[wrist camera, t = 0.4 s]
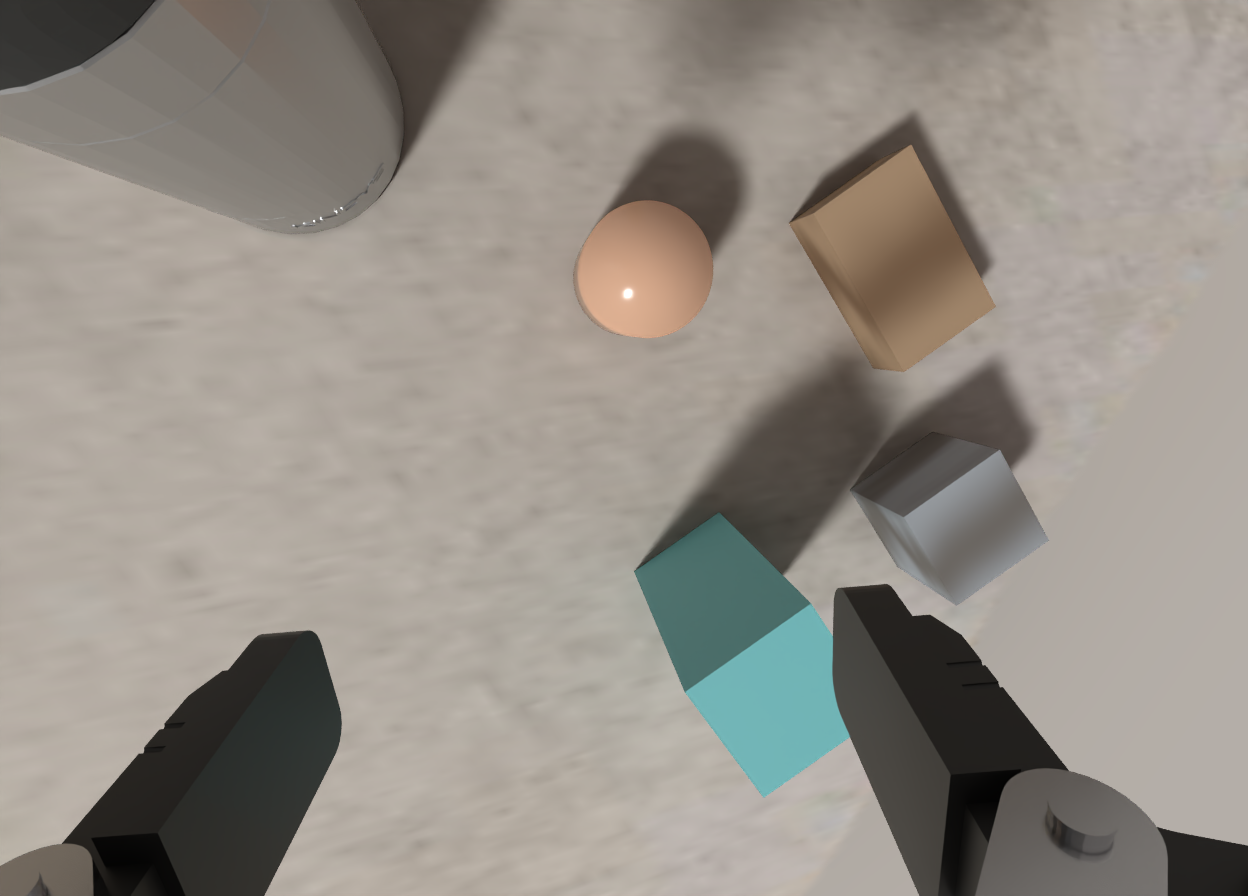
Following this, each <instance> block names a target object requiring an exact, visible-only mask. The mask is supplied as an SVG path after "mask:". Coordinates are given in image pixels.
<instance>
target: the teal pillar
mask: <svg viewBox="0 0 1248 896" xmlns="http://www.w3.org/2000/svg"><path fill="white" fill-rule="evenodd" d="M634 572H635V574H636V577H637V579H638V582H639V584H640V586H641V589H642V591H643V594H644V596H645V598H646V601H647V603H648V605H649V608H650V610H651V613H652V615H653V617H654V620H655V622H656V624H657V627H658V629H659V632H660V634H661V636H662V639H663V641H664V643H665V646H666V648H667V651H668V653H669V655H670V658H671V660H672V663H673V665H674V667H675V670H676V672H677V674H678V677H679V679H680V682H681V684H682V686H683V689H684V691H685V693H686V694H687V696H688V697H689V698H690V700H691V701H692V702H693V704H694V705H695V706H696V708H697V709H698V710H699V712H700V713H701V714H702V716H703V717H704V718H705V720H706V721H707V722H708V724H709V725H710V726H711V728H712V729H713V730H714V732H715V733H716V734H717V736H718V737H719V738H720V740H721V741H722V743H723V744H724V745H725V747H726V748H727V749H728V751H729V752H730V753H731V755H732V756H733V757H734V759H735V760H736V761H737V763H738V764H739V765H740V767H741V768H742V769H743V771H744V772H745V773H746V775H747V776H748V777H749V779H750V780H751V781H752V783H753V784H754V785H755V787H756V788H757V789H758V791H759V792H760V793H761V795H762V796H763V798H764V797H765V796H767V795H768V794H770V793H771V792H773V791H774V790H775V789H777V788H778V787H780V786H781V785H782V784H784V783H785V782H787V781H788V780H790V779H791V778H792V777H794V776H795V775H797V774H798V773H799V772H801V771H802V770H804V769H805V768H807V767H808V766H809V765H811V764H812V763H814V762H815V761H816V760H818V759H819V758H821V757H822V756H824V755H825V754H826V753H828V752H829V751H831V750H832V749H833V748H835V747H836V746H838V745H839V744H841V743H842V742H843V741H845V740H846V739H848V738H849V737H850V735H849V733H848V731H847V729H846V726H845V724H844V722H843V719H842V717H841V715H840V712H839V709H838V706H837V702H836V698H835V692H834V686H833V676H832V660H833V636H832V635H831V633H830V632H829V630H828V629H827V627H826V626H825V624H824V623H823V621H822V619H821V618H820V616H819V615H818V613H817V612H816V610H815V609H814V607H813V606H812V604H811V603H810V602H809V601H808V600H807V599H806V598H805V597H804V596H803V595H802V594H801V593H800V592H799V591H798V590H797V589H796V588H795V587H794V586H793V585H792V584H791V583H790V582H789V581H788V580H787V579H786V578H785V577H784V576H783V575H782V574H781V573H780V572H779V571H778V570H777V569H776V568H775V567H774V566H773V565H772V564H771V563H770V562H769V561H768V560H767V559H766V558H765V557H764V556H763V555H762V554H761V553H760V552H759V551H758V550H757V549H756V548H755V547H754V546H753V545H752V544H751V543H750V542H749V541H748V540H747V539H746V538H745V537H744V536H742V535H741V534H740V533H739V532H738V531H737V530H736V529H735V528H734V527H733V526H732V525H731V524H730V523H729V522H728V521H727V520H726V519H725V518H724V517H723V516H722V515H721V514H720V513H719V512H718V513H717V514H716V515H714V516H713V517H711V518H710V519H708V520H707V521H706V522H704V523H703V524H701V525H700V526H698V527H697V528H696V529H694V530H693V531H691V532H690V533H688V534H687V535H686V536H684V537H683V538H681V539H680V540H678V541H677V542H676V543H674V544H673V545H671V546H670V547H668V548H667V549H666V550H664V551H663V552H661V553H660V554H658V555H657V556H656V557H654V558H653V559H651V560H650V561H649V562H647V563H646V564H644V565H643V566H641V567H640V568H639V569H637V570H636V571H634Z"/></svg>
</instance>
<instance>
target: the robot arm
mask: <svg viewBox="0 0 1248 896" xmlns="http://www.w3.org/2000/svg"><path fill="white" fill-rule="evenodd" d="M0 136H3V137H5V138H8V139H11V140H14V141H17V142H19V143H22V144H25V145H28V146H31V147H33V148H36V149H39V150H42V151H45V152H47V153H50V154H53V155H56V156H59V157H61V158H64V159H67V160H70V161H73V162H75V163H78V164H81V165H84V166H87V167H89V168H92V169H95V170H98V171H101V172H103V173H106V174H109V175H112V176H115V177H117V178H120V179H123V180H126V181H129V182H131V183H134V184H137V185H140V186H143V187H145V188H148V189H151V190H154V191H157V192H159V193H162V194H165V195H168V196H171V197H173V198H176V199H179V200H182V201H185V202H187V203H190V204H193V205H196V206H199V207H201V208H204V209H207V210H209V211H212V212H215V213H218V214H221V215H224V216H227V217H230V218H233V219H236V220H239V221H242V222H244V223H247V224H250V225H253V226H256V227H258V228H261V229H264V230H268V231H275V232H281V233H288V234H299V233H316V232H320V231H323V230H327V229H331V228H334V227H338V226H340V225H342V224H344V223H346V222H347V221H349V220H351V219H353V218H355V217H357V216H359V215H360V214H361V213H362V212H363V211H365V210H366V209H367V208H368V207H369V206H370V205H371V204H373V203H374V202H375V201H376V200H377V199H378V197H379V196H380V195H381V193H382V192H383V190H384V189H385V188H386V186H387V185H388V183H389V182H390V181H391V178H392V176H393V173H394V171H395V169H396V166H397V164H398V161H399V159H400V154H401V148H402V143H403V137H404V117H403V106H402V101H401V97H400V93H399V89H398V84H397V82H396V79H395V77H394V75H393V73H392V71H391V68H390V66H389V64H388V62H387V59H386V58H385V56H384V54H383V52H382V50H381V48H380V46H379V45H378V43H377V41H376V39H375V37H374V35H373V34H372V32H371V30H370V28H369V26H368V24H367V22H366V20H365V18H364V16H363V14H362V12H361V10H360V9H359V7H358V5H357V3H356V1H355V0H0ZM832 676H833V686H834V692H835V698H836V702H837V706H838V709H839V712H840V715H841V717H842V719H843V722H844V724H845V726H846V729H847V731H848V733H849V735H850V738H851V740H852V742H853V745H854V747H855V749H856V752H857V754H858V756H859V758H860V761H861V763H862V765H863V768H864V770H865V772H866V774H867V777H868V779H869V781H870V784H871V786H872V788H873V791H874V793H875V795H876V797H877V800H878V802H879V804H880V807H881V809H882V811H883V813H884V816H885V818H886V820H887V823H888V825H889V827H890V829H891V832H892V834H893V836H894V839H895V841H896V843H897V846H898V848H899V850H900V852H901V854H902V857H903V859H904V862H905V864H906V866H907V868H908V871H909V873H910V875H911V878H912V880H913V882H914V884H915V887H916V889H917V891H918V893H919V896H1248V846H1246V845H1241V844H1236V843H1231V842H1225V841H1220V840H1215V839H1210V838H1204V837H1199V836H1194V835H1188V834H1183V833H1178V832H1174V831H1170V830H1166V829H1162V828H1159V827H1156V825H1155V824H1154V823H1153V822H1152V821H1151V819H1150V818H1149V817H1148V816H1147V815H1146V814H1145V813H1144V812H1143V811H1142V810H1141V809H1140V808H1139V807H1138V806H1137V805H1136V804H1135V803H1133V802H1132V801H1131V800H1130V799H1128V798H1127V797H1126V796H1124V795H1123V794H1121V793H1120V792H1118V791H1116V790H1115V789H1113V788H1111V787H1109V786H1108V785H1105V784H1104V783H1101V782H1100V781H1097V780H1095V779H1092V778H1090V777H1088V776H1085V775H1081V774H1078V773H1075V772H1071V771H1069V770H1068V769H1067V768H1066V766H1065V765H1064V764H1063V763H1062V761H1061V760H1060V759H1059V758H1058V756H1057V755H1056V754H1055V753H1054V751H1053V750H1052V749H1051V748H1050V746H1049V745H1048V744H1047V742H1046V741H1045V740H1044V739H1043V737H1042V736H1041V735H1040V734H1039V732H1038V731H1037V730H1036V729H1035V727H1034V726H1033V725H1032V724H1031V723H1030V721H1029V720H1028V718H1027V717H1026V716H1025V715H1024V713H1023V712H1022V711H1021V710H1020V708H1019V707H1018V706H1017V705H1016V703H1015V702H1014V701H1013V700H1012V698H1011V697H1010V696H1009V695H1008V693H1007V692H1006V691H1005V689H1004V688H1003V687H1001V688H1000V687H999V684H998V681H997V680H996V678H995V677H994V676H993V674H992V673H991V672H990V671H989V669H988V668H987V667H986V666H985V665H984V666H983V665H982V662H981V659H980V658H979V657H978V655H977V654H976V653H975V652H974V650H973V649H972V648H971V647H970V645H969V644H968V643H967V641H966V640H965V639H964V638H963V636H962V635H961V634H959V633H958V632H956V631H954V630H953V629H951V628H950V627H948V626H947V625H945V624H944V623H942V622H941V621H939V620H938V619H936V618H934V617H933V616H931V615H921V616H912V615H911V613H910V612H909V611H908V609H907V608H906V606H905V605H904V604H903V602H902V601H901V599H900V598H899V597H898V595H897V594H896V592H895V591H894V590H893V588H892V587H891V586H890V585H888V584H882V585H870V586H858V587H846V588H838V589H837V590H836V592H835V596H834V617H833V660H832ZM341 725H342V721H341V711H340V707H339V704H338V700H337V697H336V693H335V690H334V686H333V683H332V680H331V676H330V673H329V669H328V666H327V662H326V659H325V656H324V652H323V649H322V645H321V642H320V640H319V638H318V636H317V635H316V634H315V633H314V632H313V631H296V632H284V633H272V634H261V635H259V636H257V637H256V638H255V639H254V640H253V641H252V642H251V643H250V644H249V645H248V647H247V648H246V649H245V650H244V651H243V653H242V654H241V655H240V656H239V658H238V659H237V660H236V661H235V662H234V664H233V665H232V666H231V667H230V669H229V670H228V671H222V672H220V673H219V674H218V675H216V676H215V677H213V678H212V679H211V680H209V681H208V682H207V683H205V684H204V685H203V686H201V687H200V688H198V689H197V690H196V691H194V692H193V693H192V694H190V695H189V696H188V697H187V698H186V699H185V700H184V702H183V703H182V704H181V705H180V706H179V707H178V709H177V710H176V711H175V712H174V713H173V714H172V716H171V717H170V718H169V719H168V720H167V721H166V723H165V727H164V729H161V730H159V731H158V732H157V733H156V734H155V735H154V737H153V738H152V739H151V740H150V741H149V742H148V744H147V745H146V746H145V747H144V753H143V754H138V755H137V757H136V758H135V759H134V760H133V761H132V762H131V764H130V765H129V766H128V767H127V768H126V769H125V771H124V772H123V773H122V774H121V775H120V776H119V778H118V779H117V780H116V781H115V782H114V783H113V785H112V786H111V787H110V788H109V789H108V790H107V792H106V793H105V794H104V795H103V796H102V797H101V799H100V800H99V801H98V802H97V803H96V804H95V806H94V807H93V808H92V809H91V810H90V811H89V813H88V814H87V815H86V816H85V817H84V818H83V820H82V821H81V822H80V823H79V824H78V825H77V827H76V828H75V829H74V830H73V831H72V832H71V834H70V835H69V836H68V837H67V838H66V839H65V841H64V842H63V843H62V844H57V845H51V846H47V847H43V848H40V849H37V850H34V851H31V852H28V853H26V854H23V855H21V856H19V857H17V858H14V859H13V860H11V861H9V862H7V863H5V864H3V865H1V866H0V896H264V895H265V893H266V891H267V889H268V887H269V885H270V883H271V881H272V879H273V877H274V875H275V873H276V871H277V869H278V867H279V865H280V863H281V861H282V859H283V857H284V855H285V853H286V851H287V849H288V847H289V845H290V843H291V842H292V840H293V838H294V836H295V834H296V832H297V830H298V828H299V826H300V824H301V822H302V820H303V818H304V816H305V814H306V812H307V810H308V808H309V806H310V804H311V802H312V800H313V798H314V796H315V794H316V792H317V790H318V788H319V786H320V784H321V782H322V780H323V778H324V776H325V774H326V772H327V770H328V768H329V766H330V764H331V762H332V760H333V758H334V756H335V754H336V751H337V749H338V746H339V742H340V736H341Z"/></svg>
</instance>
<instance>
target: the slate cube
mask: <svg viewBox="0 0 1248 896" xmlns="http://www.w3.org/2000/svg"><path fill="white" fill-rule="evenodd" d="M850 490H851V492H852V494H853V495H854V497H855V499H856V500H857V502H858V503H859V505H860V507H861V508H862V510H863V512H864V513H865V515H866V517H867V518H868V520H869V521H870V523H871V525H872V526H873V528H874V530H875V531H876V533H877V534H878V536H879V538H880V539H881V541H882V543H883V544H884V546H885V548H886V549H887V551H888V552H889V554H890V556H891V557H892V559H893V561H894V562H895V564H896V565H897V567H898V568H900V569H902V570H903V571H905V572H906V573H908V574H909V575H911V576H912V577H914V578H915V579H917V580H918V581H920V582H921V583H923V584H924V585H926V586H927V587H929V588H930V589H932V590H934V591H935V592H937V593H938V594H940V595H941V596H943V597H944V598H946V599H947V600H949V601H950V602H952V603H953V604H955V605H956V606H957V605H958V604H960V603H961V602H962V601H964V600H965V599H967V598H968V597H969V596H971V595H972V594H974V593H975V592H977V591H978V590H979V589H981V588H982V587H984V586H985V585H986V584H988V583H989V582H991V581H992V580H994V579H995V578H996V577H998V576H999V575H1001V574H1002V573H1003V572H1005V571H1006V570H1008V569H1009V568H1011V567H1012V566H1013V565H1015V564H1016V563H1018V562H1019V561H1020V560H1022V559H1023V558H1025V557H1026V556H1028V555H1029V554H1030V553H1032V552H1033V551H1035V550H1036V549H1037V548H1039V547H1040V546H1041V545H1043V544H1045V543H1046V542H1047V541H1049V540H1048V538H1047V536H1046V534H1045V532H1044V530H1043V528H1042V527H1041V525H1040V523H1039V521H1038V519H1037V517H1036V516H1035V514H1034V512H1033V510H1032V508H1031V506H1030V504H1029V503H1028V501H1027V499H1026V497H1025V495H1024V493H1023V491H1022V490H1021V488H1020V486H1019V484H1018V482H1017V480H1016V479H1015V477H1014V475H1013V473H1012V471H1011V469H1010V467H1009V466H1008V464H1007V462H1006V460H1005V458H1004V456H1003V455H1002V453H1001V451H1000V450H999V449H996V448H992V447H988V446H984V445H980V444H977V443H973V442H969V441H965V440H961V439H958V438H954V437H950V436H946V435H943V434H939V433H935V432H932V433H930V434H929V435H927V436H926V437H925V438H923V439H922V440H920V441H919V442H917V443H916V444H915V445H913V446H912V447H910V448H909V449H907V450H906V451H905V452H903V453H902V454H900V455H899V456H897V457H896V458H895V459H893V460H892V461H890V462H889V463H887V464H886V465H885V466H883V467H882V468H880V469H879V470H878V471H876V472H875V473H873V474H872V475H870V476H869V477H868V478H866V479H865V480H863V481H862V482H860V483H859V484H858V485H856V486H855V487H853V488H852V489H850Z"/></svg>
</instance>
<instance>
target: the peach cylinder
mask: <svg viewBox="0 0 1248 896" xmlns="http://www.w3.org/2000/svg"><path fill="white" fill-rule="evenodd" d="M712 279H713V260H712V254H711V250H710V247H709V244H708V242H707V239H706V237H705V235H704V234H703V232H702V230H701V229H700V228H699V226H698V225H697V224H696V223H695V221H694V220H693V219H692V218H691V217H689V216H688V215H687V214H686V213H685V212H683V211H681V210H680V209H678V208H676V207H674V206H672V205H670V204H667V203H663V202H659V201H653V200H642V201H635V202H631V203H627V204H625V205H622V206H620V207H618V208H616V209H614V210H613V211H611V212H610V213H608V214H607V215H606V216H605V217H604V218H603V219H602V220H601V221H600V222H599V223H598V224H597V225H596V227H595V228H594V229H593V231H592V232H591V234H590V235H589V237H588V238H587V240H586V241H585V243H584V245H583V246H582V248H581V250H580V252H579V254H578V256H577V259H576V262H575V266H574V274H573V283H574V290H575V293H576V297H577V300H578V302H579V304H580V306H581V308H582V310H583V311H584V313H585V314H586V315H587V316H588V318H589V319H590V320H591V321H592V322H594V323H595V324H596V325H597V326H599V327H600V328H602V329H604V330H606V331H608V332H611V333H614V334H617V335H624V336H632V337H640V338H655V337H661V336H665V335H668V334H671V333H673V332H675V331H677V330H679V329H681V328H682V327H684V326H685V325H687V324H688V323H689V322H690V321H691V320H692V319H693V318H694V317H695V316H696V315H697V314H698V313H699V311H700V310H701V308H702V307H703V305H704V303H705V302H706V300H707V297H708V295H709V292H710V288H711V285H712Z"/></svg>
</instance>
